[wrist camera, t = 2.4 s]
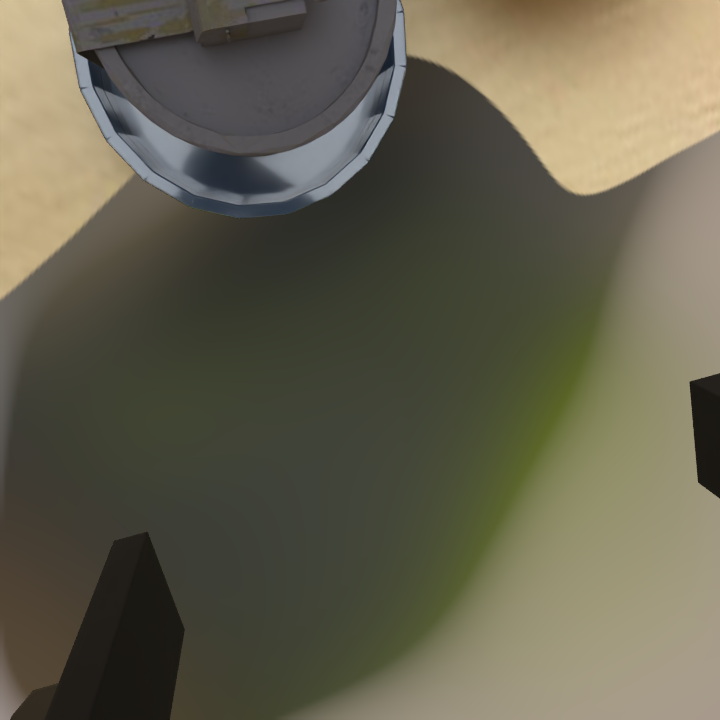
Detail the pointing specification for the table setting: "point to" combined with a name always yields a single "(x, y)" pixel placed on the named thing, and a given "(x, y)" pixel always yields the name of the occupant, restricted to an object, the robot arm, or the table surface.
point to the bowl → (242, 173)
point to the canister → (238, 64)
